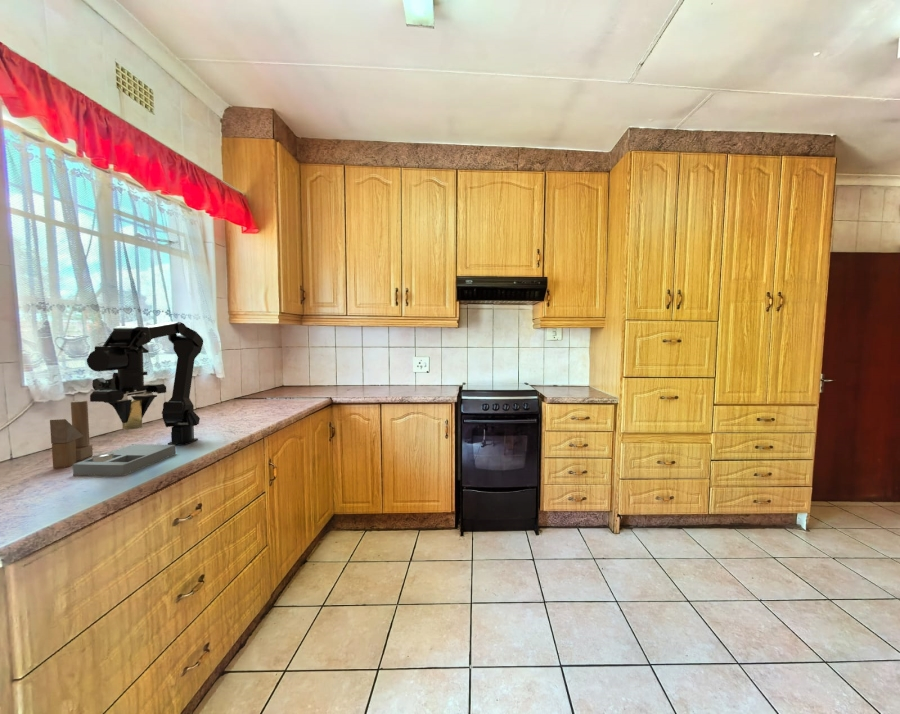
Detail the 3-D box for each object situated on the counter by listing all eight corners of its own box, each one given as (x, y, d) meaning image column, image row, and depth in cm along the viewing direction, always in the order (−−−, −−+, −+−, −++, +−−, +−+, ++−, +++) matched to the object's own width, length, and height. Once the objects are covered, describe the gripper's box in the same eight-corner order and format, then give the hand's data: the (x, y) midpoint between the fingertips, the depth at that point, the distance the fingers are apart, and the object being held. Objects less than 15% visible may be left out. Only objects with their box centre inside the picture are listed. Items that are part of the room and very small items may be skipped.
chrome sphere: (104, 465, 104) (103, 452, 104) (118, 465, 104) (118, 452, 104) (88, 471, 100) (87, 457, 99) (103, 471, 100) (103, 457, 99)
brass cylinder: (132, 425, 107) (131, 399, 107) (146, 426, 107) (145, 399, 107) (118, 429, 103) (117, 402, 103) (132, 429, 103) (131, 402, 102)
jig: (133, 453, 115) (133, 444, 115) (175, 453, 115) (175, 444, 114) (73, 475, 97) (72, 464, 97) (123, 475, 97) (122, 465, 96)
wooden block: (52, 468, 101) (48, 406, 100) (79, 456, 112) (76, 400, 111) (68, 467, 103) (64, 406, 101) (93, 455, 113) (90, 399, 112)
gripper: (133, 366, 114) (135, 414, 115) (69, 371, 95) (71, 428, 96) (167, 366, 114) (168, 414, 114) (109, 371, 95) (111, 428, 96)
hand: (132, 421), depth 105 cm, fingers closed on brass cylinder, 4 cm apart
